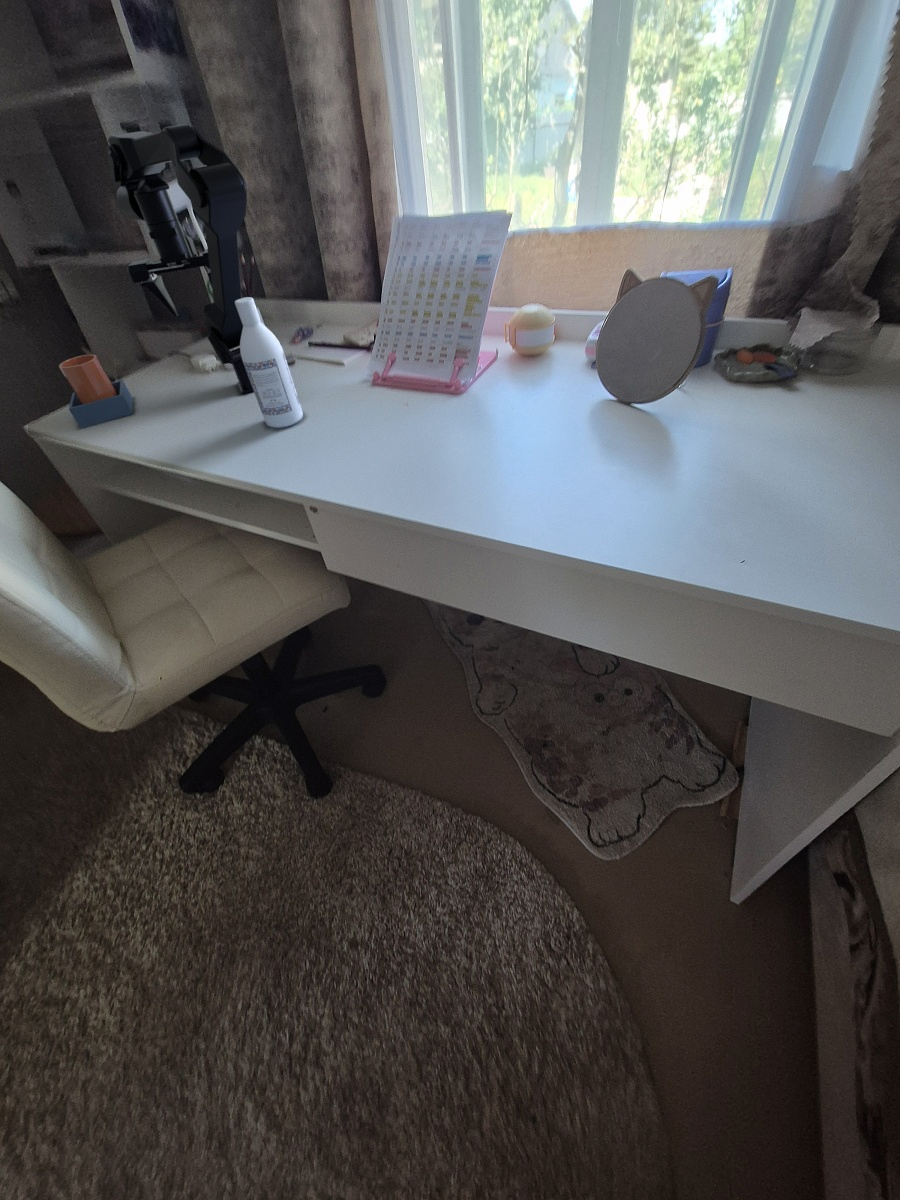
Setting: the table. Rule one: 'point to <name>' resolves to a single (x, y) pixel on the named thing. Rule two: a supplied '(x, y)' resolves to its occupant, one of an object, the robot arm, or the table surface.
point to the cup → (87, 378)
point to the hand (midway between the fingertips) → (198, 312)
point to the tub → (103, 407)
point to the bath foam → (267, 369)
